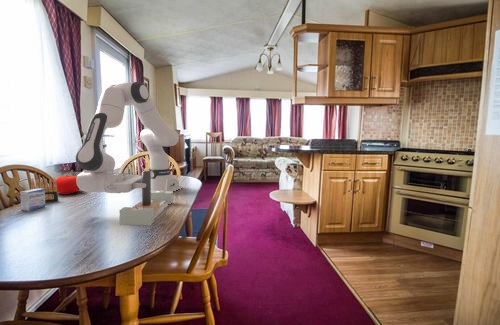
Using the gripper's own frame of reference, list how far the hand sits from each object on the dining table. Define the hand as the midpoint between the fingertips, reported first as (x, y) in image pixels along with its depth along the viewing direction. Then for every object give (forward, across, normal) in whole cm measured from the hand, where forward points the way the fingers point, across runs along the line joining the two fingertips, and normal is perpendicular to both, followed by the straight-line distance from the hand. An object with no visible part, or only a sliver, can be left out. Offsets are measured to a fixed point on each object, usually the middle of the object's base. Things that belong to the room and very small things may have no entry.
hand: (148, 184), depth 116 cm
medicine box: (-54, +5, +14) cm, 57 cm away
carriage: (-1, 0, +11) cm, 11 cm away
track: (-1, +4, +14) cm, 15 cm away
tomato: (-58, +35, +14) cm, 69 cm away
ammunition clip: (-57, +16, +14) cm, 61 cm away
